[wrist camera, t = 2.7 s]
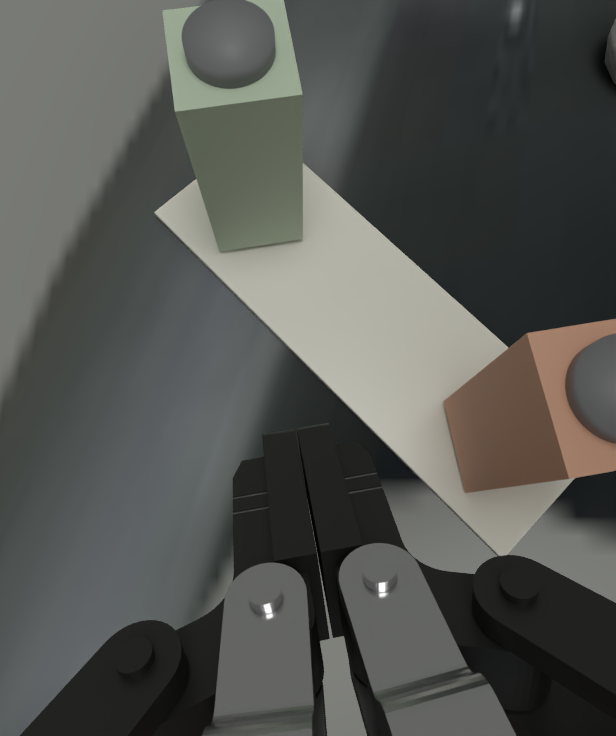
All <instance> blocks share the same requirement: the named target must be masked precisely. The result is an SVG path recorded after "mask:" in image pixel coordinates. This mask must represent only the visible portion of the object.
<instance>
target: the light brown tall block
mask: <svg viewBox="0 0 616 736" xmlns="http://www.w3.org/2000/svg"><path fill="white" fill-rule="evenodd" d="M444 405H445V410H446V414H447V418H448V422H449V426H450V430H451V435H452V439H453V443H454V447H455V451H456V455H457V460H458V464H459V468H460V472H461V476H462V480H463V485H464V489H465V493H470V492H477V491H484V490H492V489H499V488H506V487H514V486H521V485H528V484H535V483H543V482H550V481H557V480H564V479H571V478H577V477H582V476H588V475H594V474H599V473H605V472H611V471H616V319H612V320H605V321H599V322H593V323H587V324H581V325H575V326H568V327H562V328H556V329H550V330H544V331H538V332H531V333H527V334H525V335H524V336H523V337H522V338H520V339H519V340H518V341H517V342H515V343H514V344H513V345H512V346H511V347H509V348H508V349H507V350H506V351H504V352H503V353H502V354H501V355H500V356H498V357H497V358H496V359H495V360H493V361H492V362H491V363H490V364H488V365H487V366H486V367H485V368H484V369H482V370H481V371H480V372H479V373H477V374H476V375H475V376H474V377H473V378H471V379H470V380H469V381H468V382H466V383H465V384H464V385H463V386H461V387H460V388H459V389H458V390H457V391H455V392H454V393H453V394H452V395H450V396H449V397H448V398H447V399H446V400H444Z"/></svg>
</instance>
